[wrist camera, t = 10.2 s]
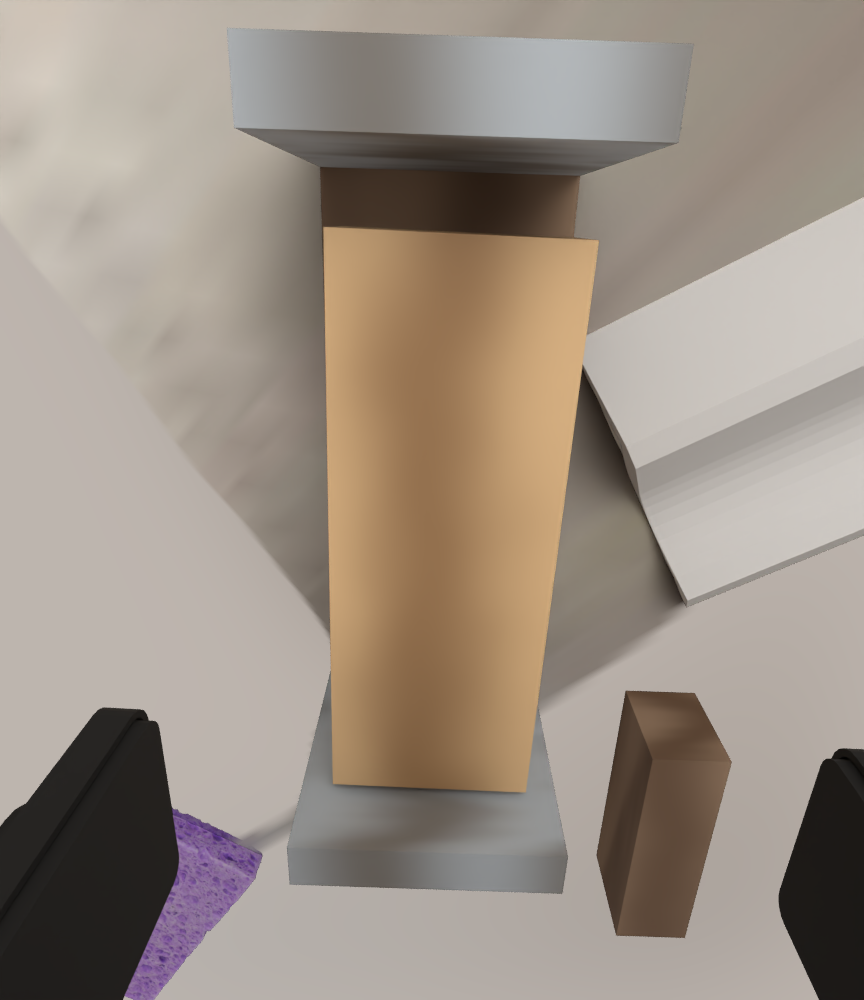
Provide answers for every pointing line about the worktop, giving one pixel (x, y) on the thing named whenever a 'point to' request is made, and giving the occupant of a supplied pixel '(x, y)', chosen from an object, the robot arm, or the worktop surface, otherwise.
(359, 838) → the peg frame
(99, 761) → the robot arm
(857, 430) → the crown molding
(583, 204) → the worktop surface
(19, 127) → the worktop surface
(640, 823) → the block
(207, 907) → the sponges
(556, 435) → the shelf board
